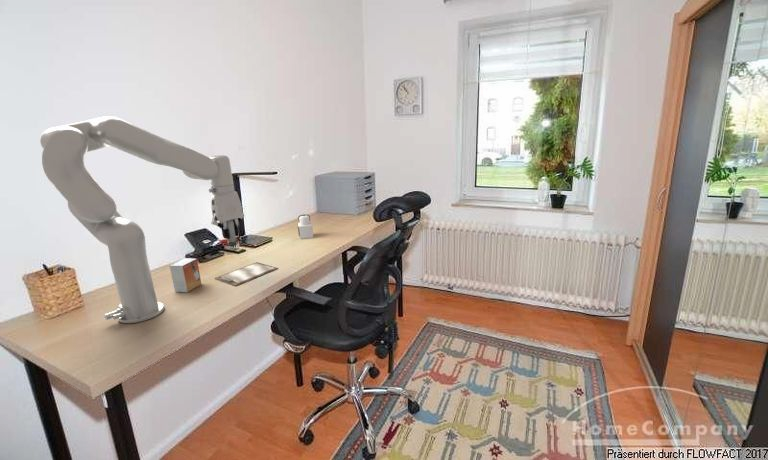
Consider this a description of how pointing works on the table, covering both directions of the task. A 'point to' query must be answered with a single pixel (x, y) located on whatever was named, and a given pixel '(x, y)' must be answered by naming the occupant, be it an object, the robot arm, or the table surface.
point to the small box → (185, 275)
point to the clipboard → (246, 273)
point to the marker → (231, 233)
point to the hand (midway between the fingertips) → (231, 236)
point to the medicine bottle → (305, 227)
